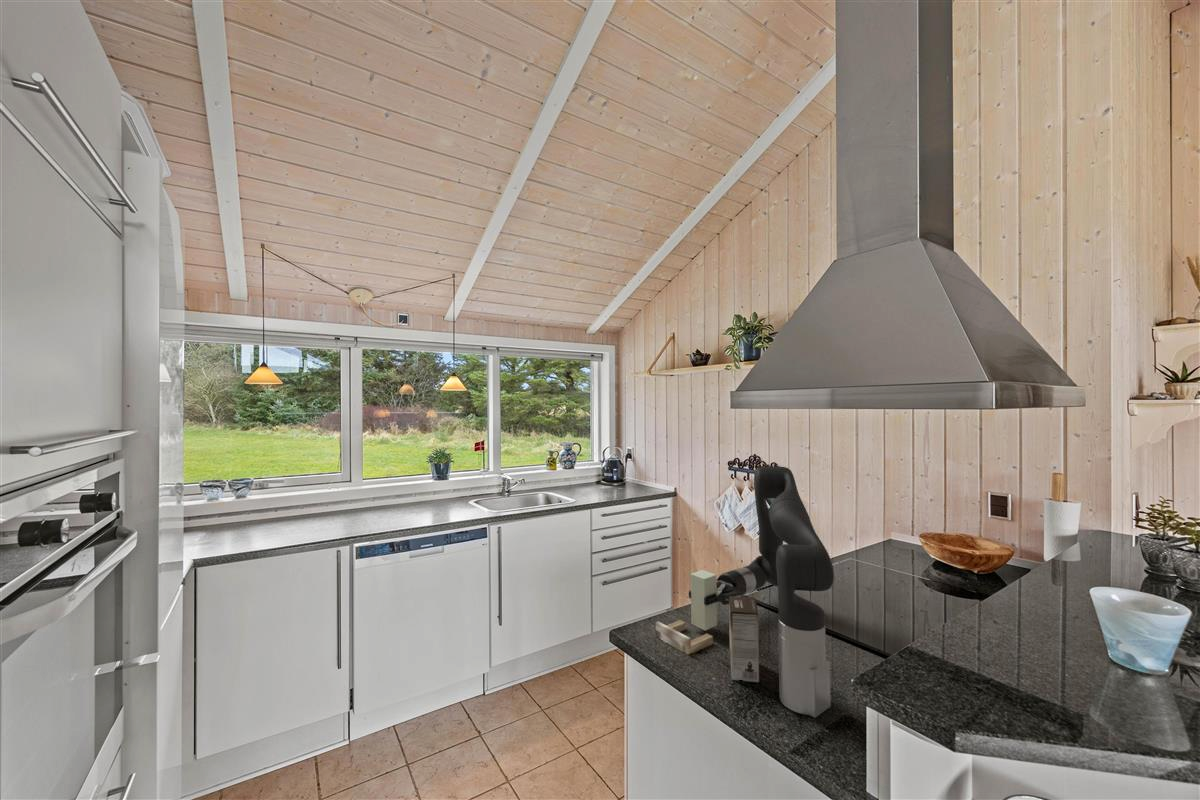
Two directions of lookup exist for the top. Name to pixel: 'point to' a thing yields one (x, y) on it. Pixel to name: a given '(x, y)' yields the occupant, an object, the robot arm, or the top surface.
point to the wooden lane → (681, 637)
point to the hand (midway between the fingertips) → (697, 598)
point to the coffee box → (744, 638)
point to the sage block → (700, 588)
